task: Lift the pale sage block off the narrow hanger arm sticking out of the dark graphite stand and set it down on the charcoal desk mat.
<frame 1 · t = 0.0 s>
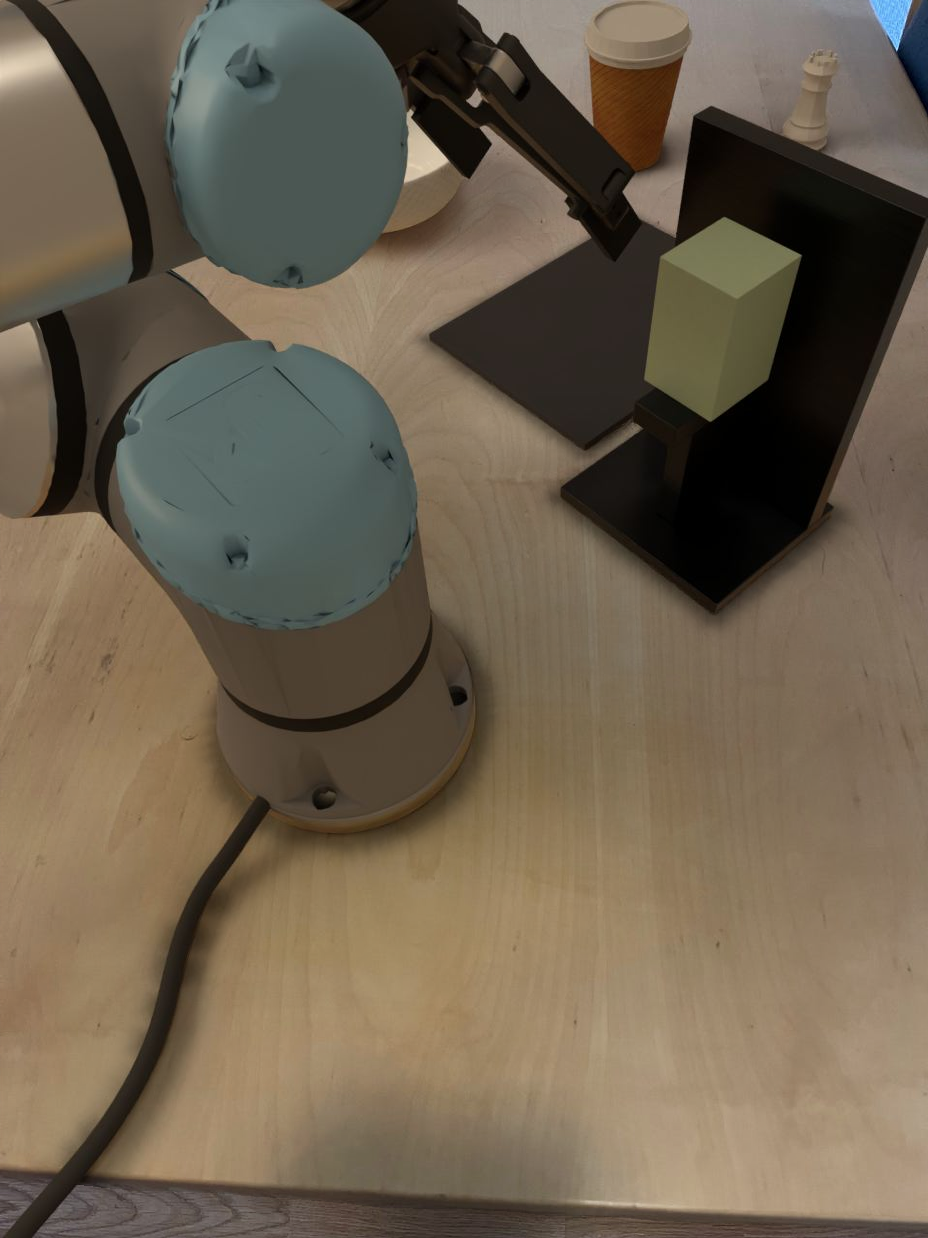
hand: (547, 198, 58), 15 cm above the table, tool tilted 35°, fingers open, 13 cm apart
cereal bowl: (382, 212, 86), on the table
desk mat: (610, 322, 75), on the table
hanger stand: (687, 510, 63), on the table
disposable coffee cup: (626, 156, 89), on the table
sage block: (705, 379, 52), point 12 cm above the table, touching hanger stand
rook chess piece: (801, 145, 89), on the table
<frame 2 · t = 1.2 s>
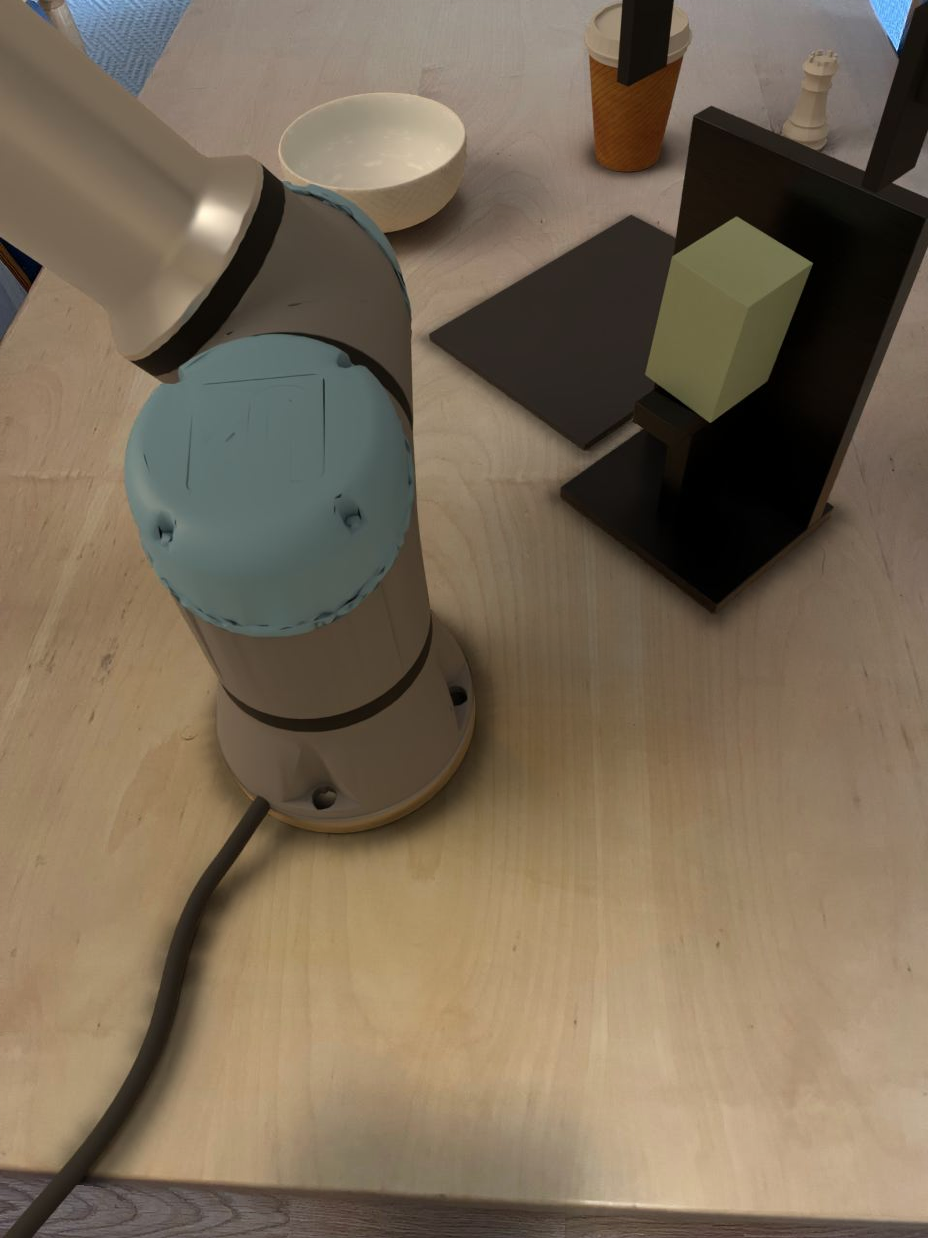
hand: (755, 122, 41), 27 cm above the table, tool pointing down, fingers open, 13 cm apart
sage block: (706, 378, 52), point 12 cm above the table, tilted 5°, touching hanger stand
everything else where it was.
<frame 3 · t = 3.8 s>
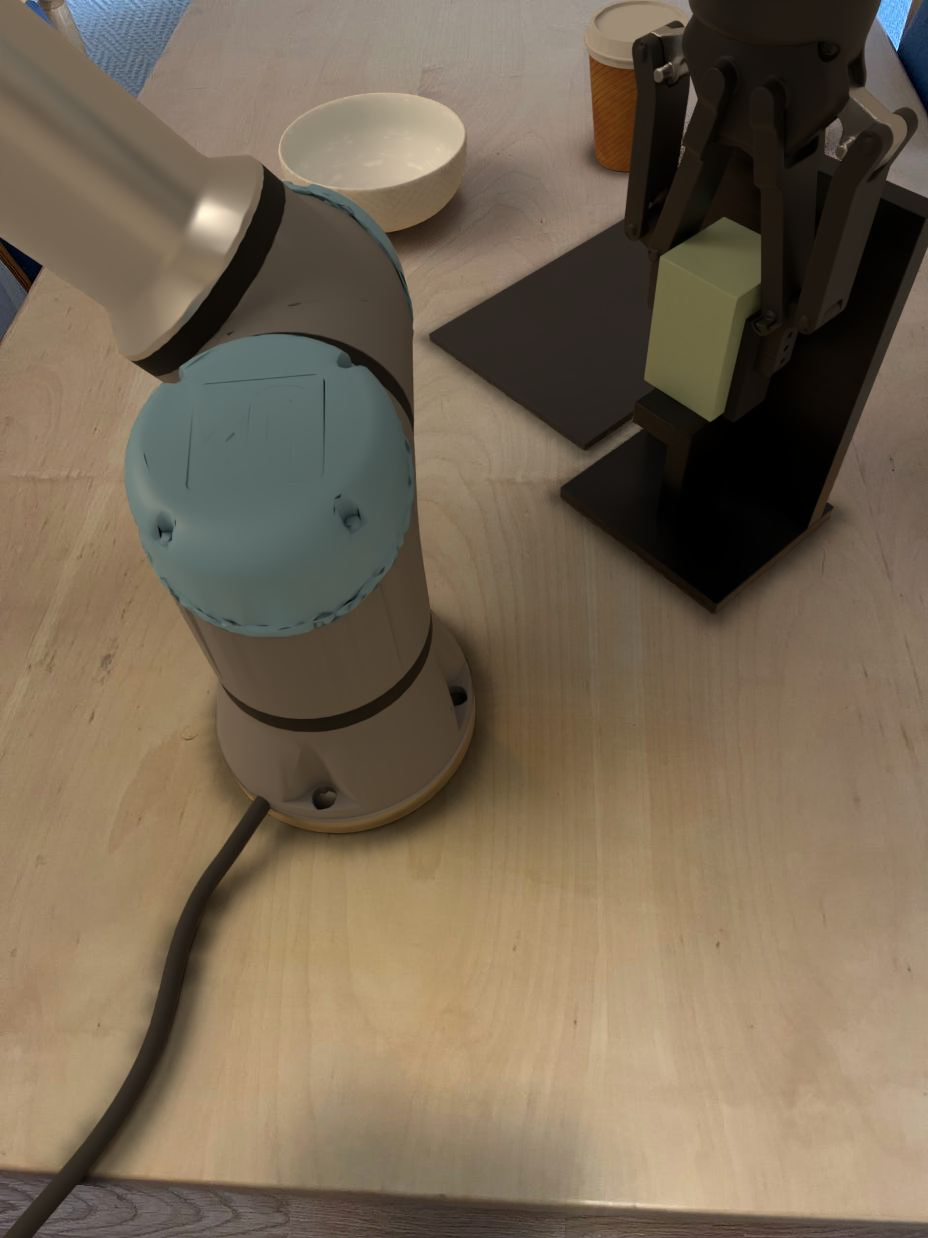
hand: (704, 383, 53), 12 cm above the table, tool pointing down, fingers closed on sage block, 5 cm apart
sage block: (705, 379, 52), point 12 cm above the table, touching gripper, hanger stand
everything else where it was.
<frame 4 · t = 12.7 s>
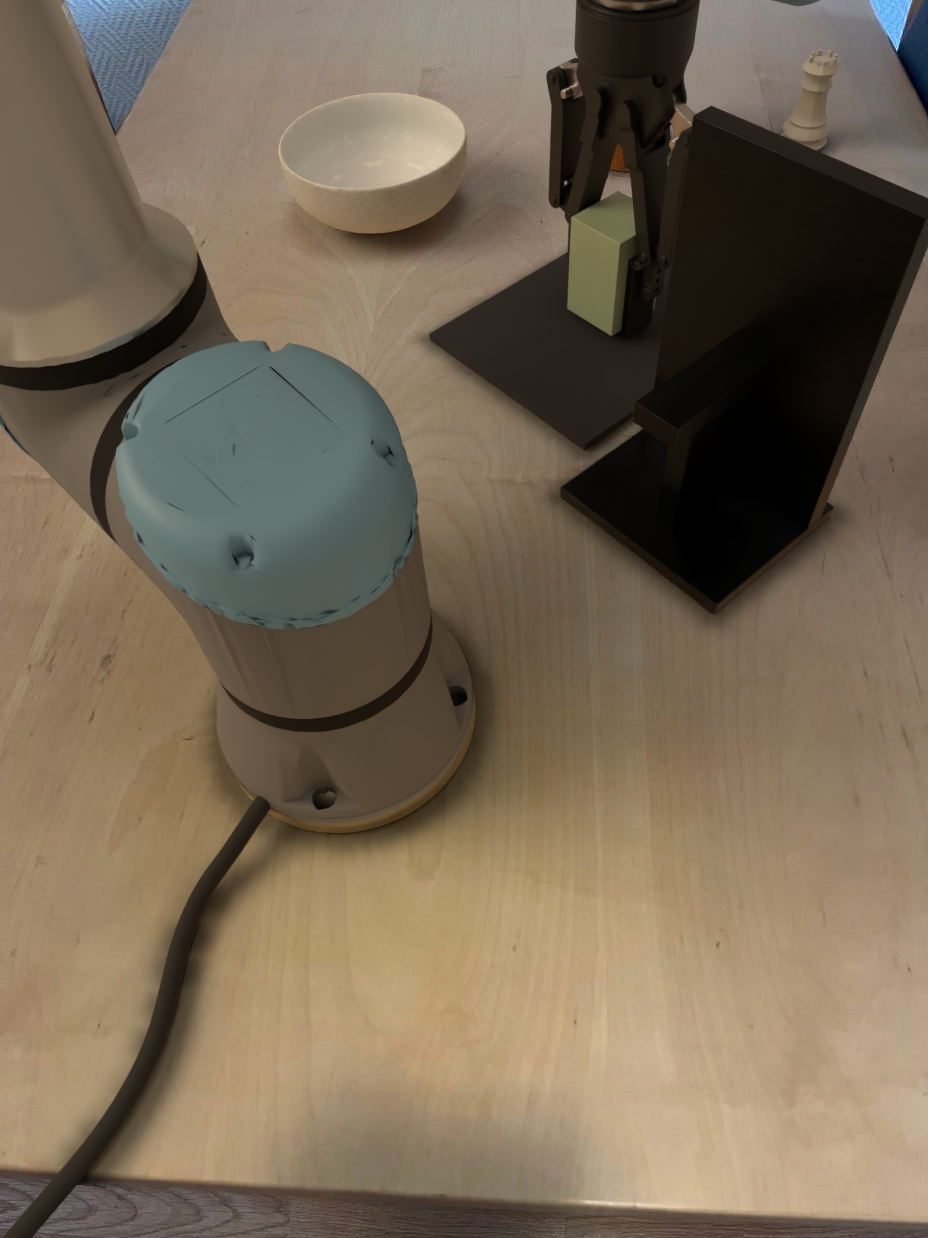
hand: (610, 311, 74), 1 cm above the table, tool pointing down, fingers closed on sage block, 5 cm apart
sage block: (610, 308, 73), point 1 cm above the table, touching gripper
everything else where it was.
when the fingers open (1 cm above the table, at t = 16.4 s): sage block stays where it is, resting on desk mat.
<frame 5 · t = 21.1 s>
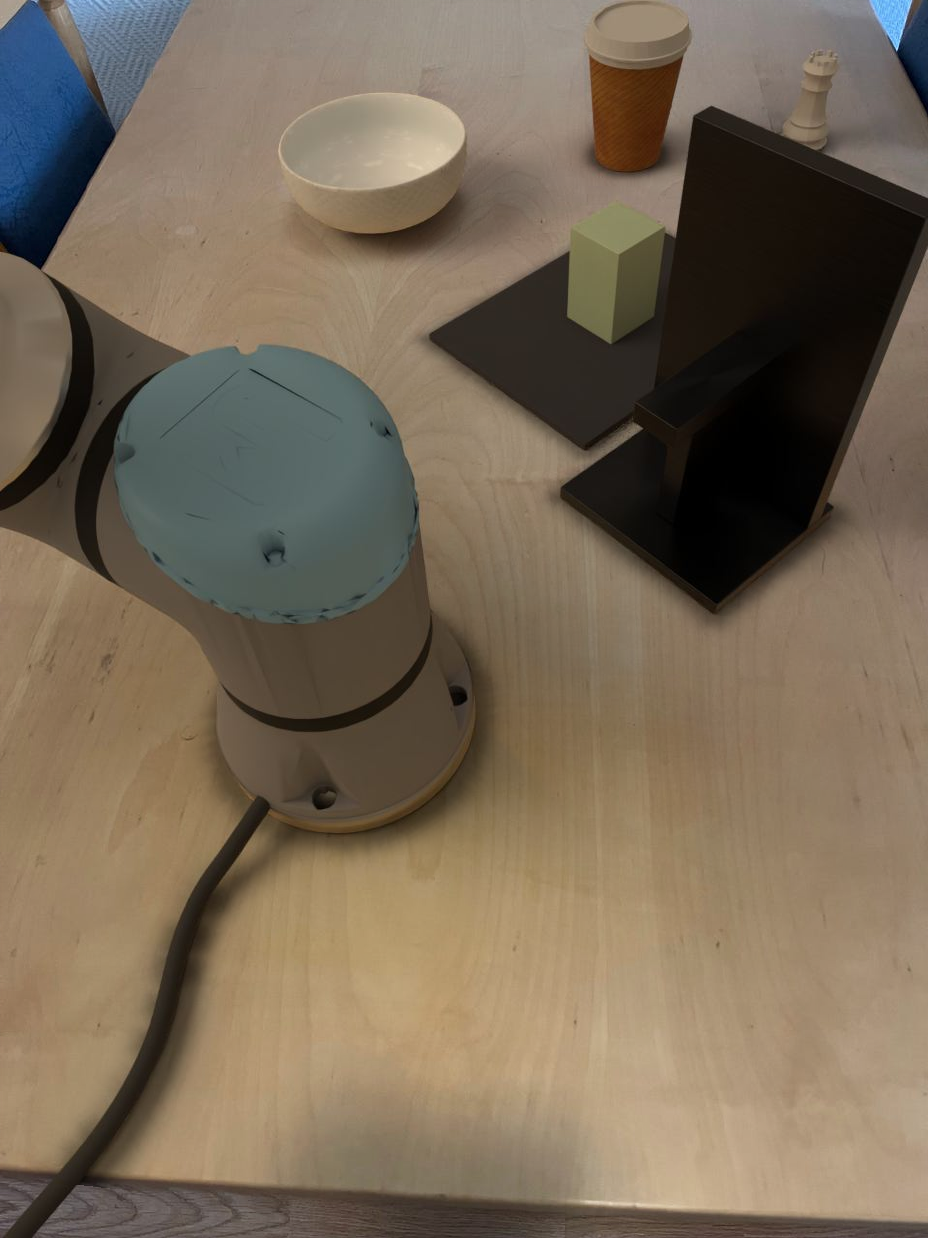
sage block: (610, 316, 74), point 1 cm above the table, touching desk mat
everything else where it was.
at the end: sage block inside the target area on the desk mat (0.0 cm from its centre), point 0.6 cm above the desk mat's base; sage block tilted 0°; the gripper is holding nothing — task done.
